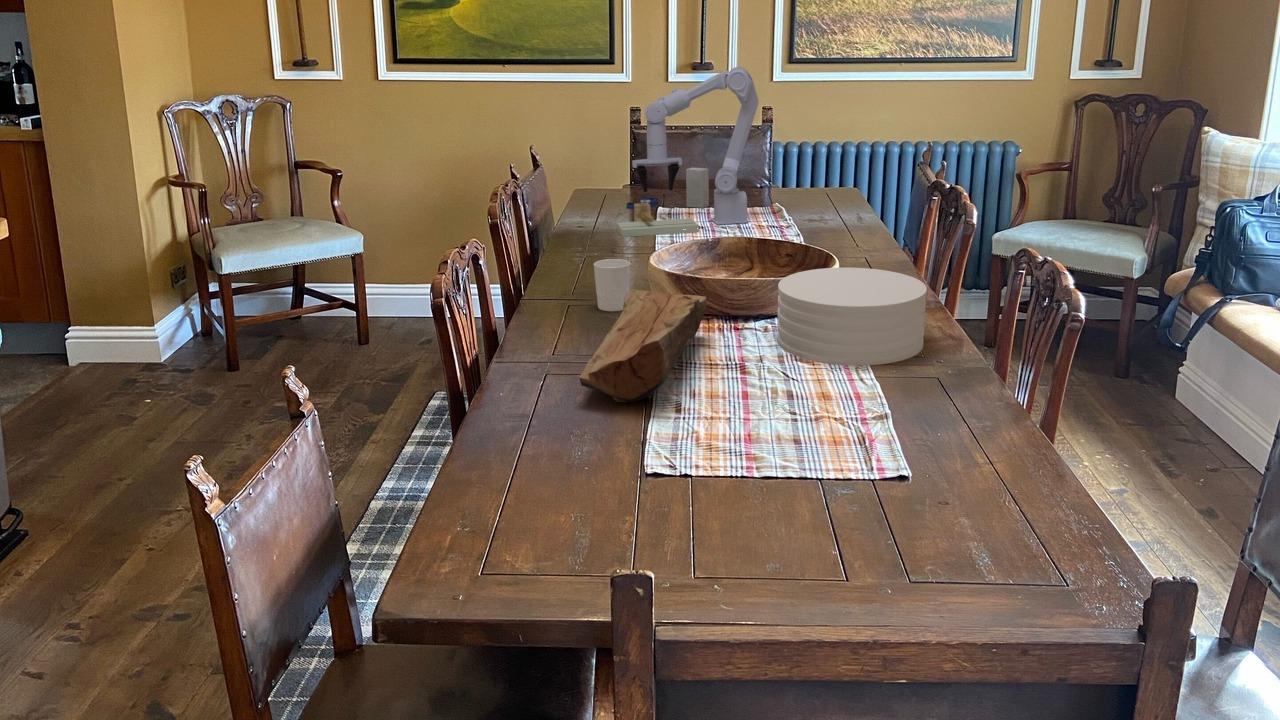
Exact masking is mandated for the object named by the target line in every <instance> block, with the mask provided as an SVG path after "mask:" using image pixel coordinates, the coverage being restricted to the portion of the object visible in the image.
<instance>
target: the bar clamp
mask: <svg viewBox="0 0 1280 720" xmlns="http://www.w3.org/2000/svg"><path fill="white" fill-rule="evenodd" d="M658 200H659V198H658V197H653V196H641V199H640V200H639V201H638V202H627V203H626V205H625V206H626V209H628V210H629V209H630V210H632V209H633V210H634V204H637V203H648V204H649V205H650V209H651V208H654V207H656V206H658V204H659V201H658Z"/></svg>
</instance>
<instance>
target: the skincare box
mask: <svg viewBox="0 0 1280 720" xmlns="http://www.w3.org/2000/svg"><path fill="white" fill-rule="evenodd" d="M685 177H686V178H685V180H686V181H685V185H686V186H685V187H686V192H685V193H686V197H685V198H686V207H687V208H696V209H697V208H698V209H705V208H707V207H709V206H710V205H709V204H710V198H709V197H710V196H709V195H710V194H709V190H710V189H709V187H710V186H709V168H704V167H690V168H686V169H685Z"/></svg>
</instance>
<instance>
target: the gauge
mask: <svg viewBox="0 0 1280 720" xmlns="http://www.w3.org/2000/svg"><path fill="white" fill-rule="evenodd" d="M633 211H634V212H633V217H634V218H633V219H634V221H633V222H638V221H647V222H653V221H654V217H653V216H652V215H651V214H652V213H651V212H652V210H651V208H650V205H649V204H648V203H639V202H637V204H634V209H633Z"/></svg>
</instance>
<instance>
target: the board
mask: <svg viewBox="0 0 1280 720" xmlns="http://www.w3.org/2000/svg"><path fill="white" fill-rule="evenodd" d="M697 228H700V226H699V224H698V223H697V222H696V221H695V220H693V218H675V219H658V220H655V219H653V222H647V221H638V222H634V221H624V222H616V230H617V232H618V234H620V236H621V237H622V238H626V237H627V238H628V237H629V238H630V237H645V236H657V235H658V236H659V235H661V236H662V235H673V234H690V233H691V234H692V233H693V234H694V233H700V232H699V231H700V229H697ZM683 229H686V230H683Z"/></svg>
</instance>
